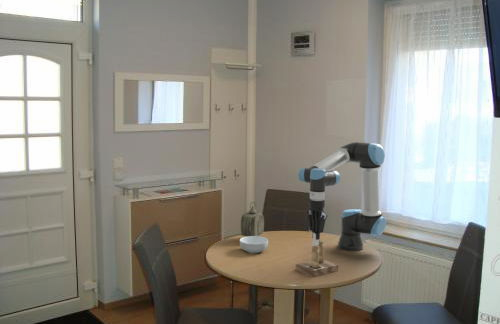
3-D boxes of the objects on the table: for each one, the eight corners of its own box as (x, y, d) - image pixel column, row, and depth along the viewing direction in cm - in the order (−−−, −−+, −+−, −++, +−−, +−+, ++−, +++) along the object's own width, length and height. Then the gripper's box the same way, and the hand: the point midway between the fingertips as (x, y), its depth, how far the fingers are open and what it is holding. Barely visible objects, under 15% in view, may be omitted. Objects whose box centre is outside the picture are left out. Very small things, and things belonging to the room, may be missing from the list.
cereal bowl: (236, 248, 298) (236, 236, 297) (262, 246, 303) (262, 235, 302) (244, 256, 282) (244, 244, 281) (272, 254, 287) (272, 242, 286)
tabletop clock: (252, 237, 322) (252, 199, 319) (264, 239, 318) (265, 200, 315) (240, 242, 310) (240, 203, 307) (253, 245, 305) (253, 204, 302)
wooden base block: (320, 263, 271) (321, 238, 269) (338, 270, 260) (339, 244, 258) (295, 269, 260) (296, 243, 259) (312, 277, 250) (313, 249, 248)
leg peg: (315, 271, 258) (315, 245, 256) (319, 273, 255) (320, 246, 253) (309, 272, 256) (310, 246, 254) (314, 275, 253) (315, 248, 251)
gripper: (302, 198, 254) (301, 243, 257) (320, 202, 244) (319, 249, 246) (313, 196, 259) (312, 241, 261) (331, 200, 248) (330, 247, 251)
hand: (315, 245), depth 254 cm, fingers closed
